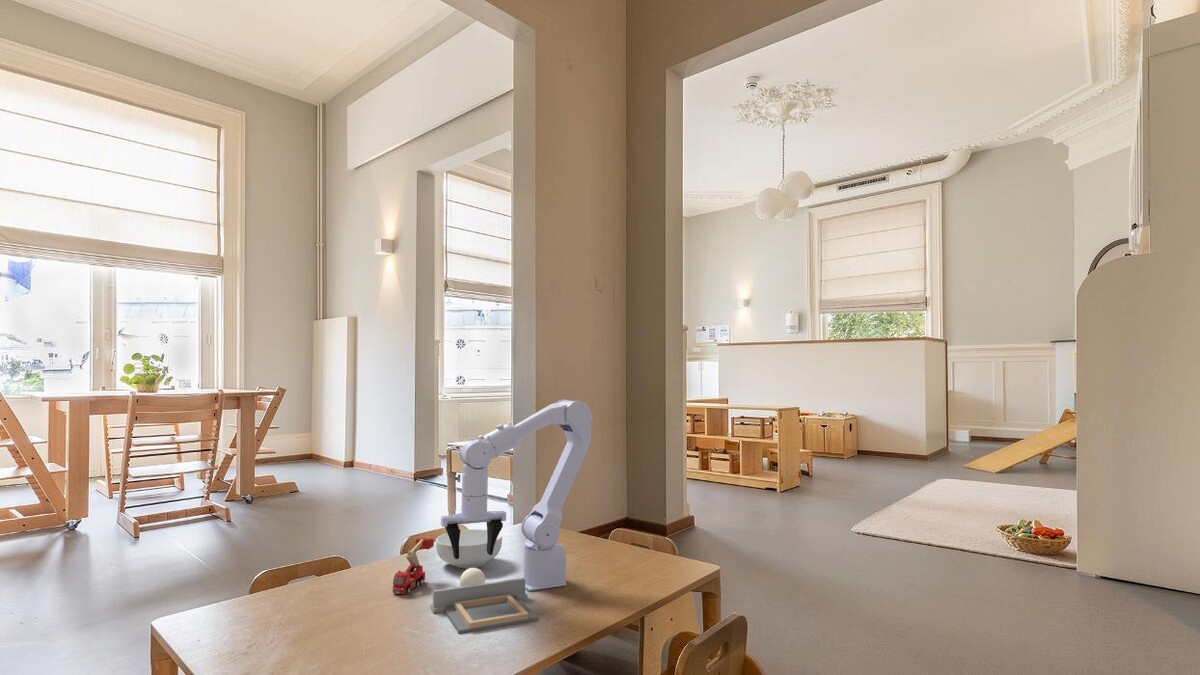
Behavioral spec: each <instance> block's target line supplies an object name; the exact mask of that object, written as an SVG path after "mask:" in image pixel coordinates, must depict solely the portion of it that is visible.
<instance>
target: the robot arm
mask: <svg viewBox="0 0 1200 675" xmlns="http://www.w3.org/2000/svg"><path fill="white" fill-rule="evenodd" d="M593 418H594V416H593V414H592V412H591V410H590V408H589V406H588V404H587V403H586V402H584V401H581V400H569V399H560V400H558V401H557V402H554V403H551V404H549V405H547V406H545V407H544V408H542V409H540V410H538V411H537V412H535V413H534V414H531V415H529V417H527V418H525V419H524V420H521V421H519V422H518V423H516V424H515V425H510V424H509V423H507V424H506V423H505V424H504V425H503V424H500V423H499V424H498V425H496V426H495V428H496V429H494V430H492V431H490V432H488V433H485V434H484V435H483V434H480V435H478V436H477V438H478V439H477V440H473V439H472V440H469V441H467V442H466V443H464V444H463V446H462V448H461V450H460V452H459V454H458V455H459V458H460V460H461V461H462V476H461V477H462V478H461V508H460V509H461V510H460V511H461V512H460V513H453V514H449V515H442V516H440V526H441V527H442V528H444V529H445V530H446V533H448V536H449V538H450V541H451V545H452V549H453V556H454V558H455V559H459V539H460V531H461V530H462V529H460V525H468V524H478V523H479V524H480V523H486V530H487V553H488V554H489V555H492V554H493V549H494V545H495V542H496V539H497V537H498V535H499V533H500V534H501V531H502V529H503V526H504V523H503V522H505V521H506V522H507V512H506V511H505V510H492V511H491V510H488V492H489V491H488V489H489V488H488V487H489V486H488V484H489V482H488V481H489V472H488V471H489V470H488V469H489V465H490V464H491V462H492V460H493V459H495V458H498V457H499V456H501V455H503V454H505V453H507V452H508V451H510V450H512V449H514V448H516V447H518V445H519V442H520V440H521V438H523V437H525V436H528V435H530V434H531V433H533V432H536V431H538V430H540V429H542V428H545V427H546V426H548V425H558V426H559V427H560V428H561V430H562V431H563V432H564V435H565V438H566V444H565V447H564V449H563V451H562V453H561V455H560V457H559V460H558V462H557V464H556V466H555V468H554V471H553V472H552V475H551V477H550V480H549V481H548V484H547V486H546V489H545V490H544V493H543V495H542V497H541V499H540V501H539V502H538V503H536V504H535V505H534V506H533V507H532V510H531V512H529V514H528V515H526V516H525V517H524V519H523V520H522V522H521V533H522V534H523V536H524V537H525V542H524V556H523V557H524V558H523V578H525V579H526V580H525V590H527V591H530V592H531V591H537V590H544V589H550V588H551V589H552V588H556V587H557V588H559V587H564V586H567V582H566V572H567V571H566V570H567V569H566V566H567V564H566V562H567V558H566V557H567V556H566V554H567V553H566V550H565V547H564V545H563V544H562V543H557V542H558V541H559V537H560V529H561V528H560V527H561V524H562V523H563V515H562V509H563V506H564V504H565V502H566V499H567V497H568V495H569V493H570V490H571V488H572V486H573V484H574V481H575V479H576V476H577V475H578V472H579V470H580V469H581V466H582V463H583V461H584V459H585V458H586V455H587V452H588V450H589V447H590V445H591V442H592V424H591V423H592V420H593Z"/></svg>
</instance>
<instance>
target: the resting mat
mask: <svg viewBox="0 0 1200 675" xmlns="http://www.w3.org/2000/svg"><path fill="white" fill-rule="evenodd" d="M443 613H445V616H448V617H447V618H448V619H450V620H449V621H450V622H452V623H451V624H452V626H453V627H454V629H455V630H456V633H457V634H458V635H460V634H465V633H470V632H476V631H477V632H478V631H482V630H488V629H494V628H499V627H505V626H511V625H516V624H517V625H518V624H524V623H528V622H529V623H530V622H534V621H538V618H539V617H538V616H537V614H535V613H534V611H532V610H531V609H530V608H529V606H527V605H526V603H525V602H523V601H522V600H520V599H519V598H513V597H512V596H511V595H510V594H507V595H500V596H494V597H487V598H480V599H474V600H467V601H460V602H454V607H453V608H446V609H444V612H443Z"/></svg>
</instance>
